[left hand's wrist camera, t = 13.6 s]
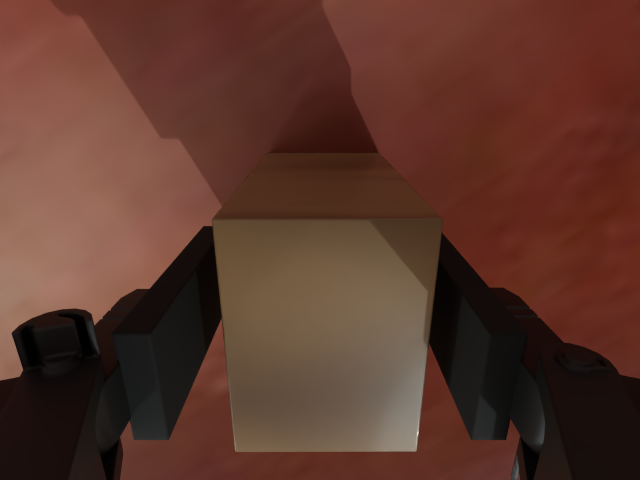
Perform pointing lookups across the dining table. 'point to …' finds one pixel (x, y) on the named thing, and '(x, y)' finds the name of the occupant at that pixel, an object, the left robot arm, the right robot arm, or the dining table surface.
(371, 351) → the block
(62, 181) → the dining table surface
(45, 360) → the left robot arm
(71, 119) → the dining table surface
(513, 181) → the dining table surface
